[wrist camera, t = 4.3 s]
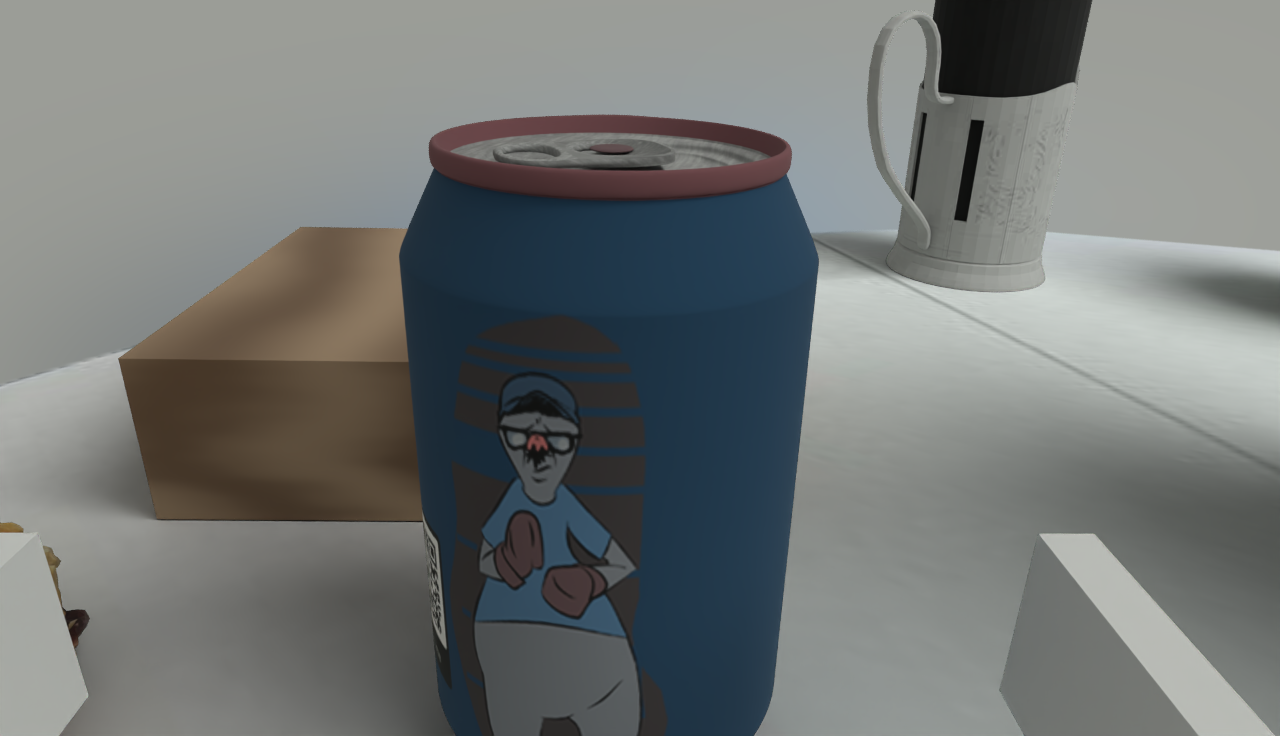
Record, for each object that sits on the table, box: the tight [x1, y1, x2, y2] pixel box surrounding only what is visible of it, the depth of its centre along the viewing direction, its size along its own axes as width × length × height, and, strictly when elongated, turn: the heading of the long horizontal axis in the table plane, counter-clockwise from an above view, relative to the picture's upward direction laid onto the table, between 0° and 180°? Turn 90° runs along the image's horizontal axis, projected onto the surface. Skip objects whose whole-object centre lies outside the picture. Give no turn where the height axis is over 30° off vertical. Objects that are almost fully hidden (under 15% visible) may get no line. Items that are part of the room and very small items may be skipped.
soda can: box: [399, 115, 819, 736], centre depth 16 cm, size 7×7×12 cm
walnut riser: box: [118, 227, 423, 521], centre depth 30 cm, size 18×14×5 cm
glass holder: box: [867, 0, 1092, 292], centre depth 45 cm, size 9×14×15 cm, turn 125°
